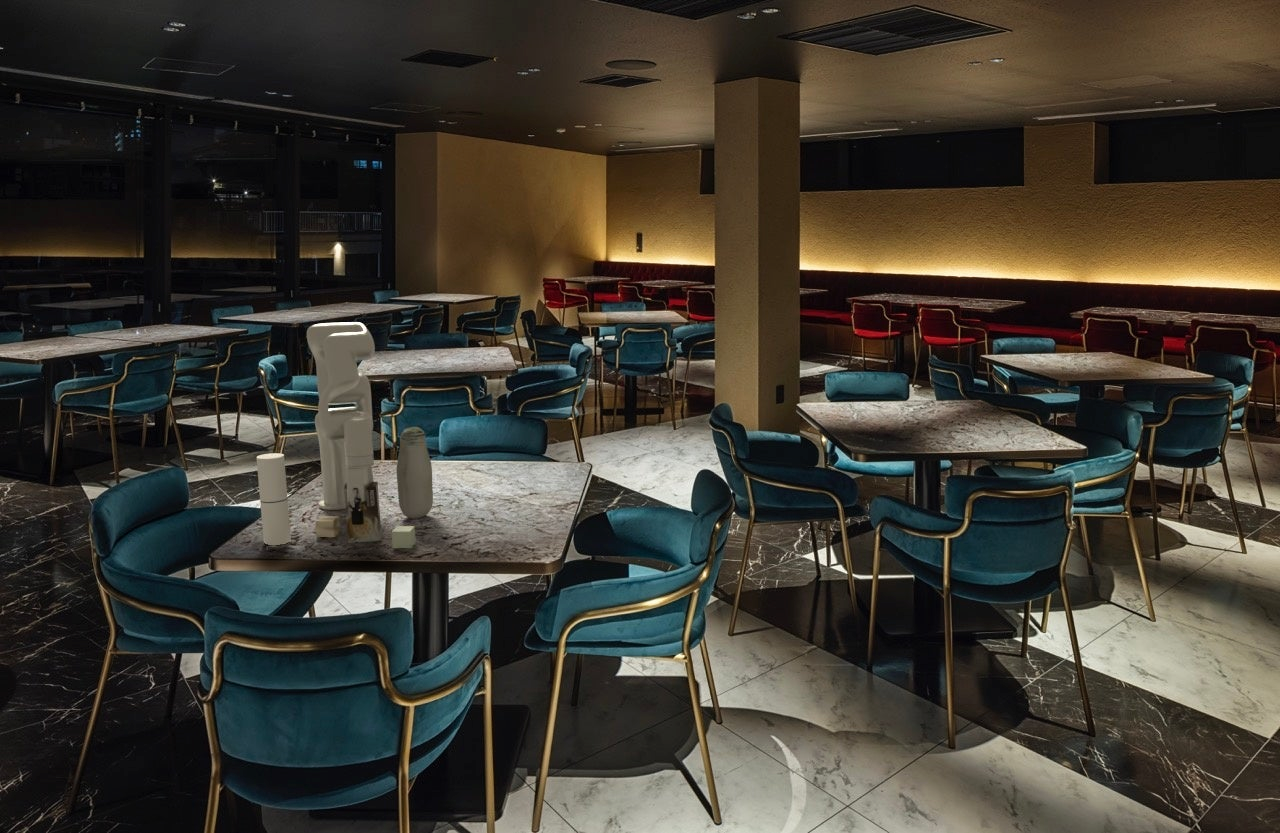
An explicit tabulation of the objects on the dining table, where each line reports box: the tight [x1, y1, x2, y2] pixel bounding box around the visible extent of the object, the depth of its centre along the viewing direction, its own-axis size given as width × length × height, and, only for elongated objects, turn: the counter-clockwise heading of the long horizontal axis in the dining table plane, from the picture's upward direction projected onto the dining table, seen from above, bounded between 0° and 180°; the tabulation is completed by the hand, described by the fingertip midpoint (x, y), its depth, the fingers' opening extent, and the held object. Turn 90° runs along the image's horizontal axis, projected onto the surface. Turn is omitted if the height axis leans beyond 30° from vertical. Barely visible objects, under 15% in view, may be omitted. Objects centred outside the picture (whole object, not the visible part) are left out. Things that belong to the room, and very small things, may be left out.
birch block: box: [315, 515, 341, 538], centre depth 271 cm, size 5×5×5 cm
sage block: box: [391, 525, 417, 549], centre depth 260 cm, size 5×5×5 cm
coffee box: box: [344, 481, 383, 544], centre depth 265 cm, size 9×6×16 cm
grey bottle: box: [396, 426, 434, 520], centre depth 286 cm, size 10×10×28 cm
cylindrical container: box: [256, 452, 292, 545], centre depth 263 cm, size 7×7×25 cm
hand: (363, 519), depth 266 cm, fingers open, 9 cm apart
